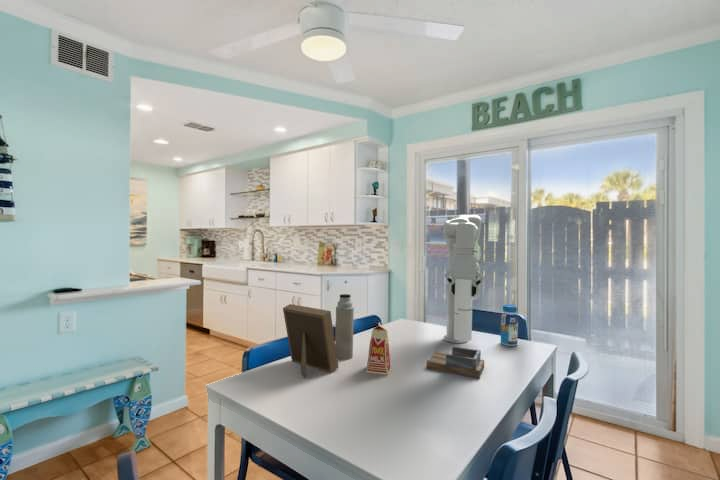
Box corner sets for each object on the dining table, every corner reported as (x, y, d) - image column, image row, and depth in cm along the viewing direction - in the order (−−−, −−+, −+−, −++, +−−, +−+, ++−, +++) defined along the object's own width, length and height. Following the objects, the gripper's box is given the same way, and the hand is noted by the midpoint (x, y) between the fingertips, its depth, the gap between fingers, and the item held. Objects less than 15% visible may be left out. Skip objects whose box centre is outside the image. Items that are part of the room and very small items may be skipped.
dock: (435, 358, 162) (435, 343, 162) (484, 367, 152) (484, 350, 152) (426, 368, 149) (427, 352, 149) (479, 378, 140) (479, 360, 140)
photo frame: (298, 358, 158) (299, 302, 157) (338, 369, 146) (339, 308, 145) (273, 369, 145) (273, 307, 145) (314, 382, 133) (315, 315, 133)
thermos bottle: (336, 353, 166) (337, 292, 166) (353, 354, 165) (354, 293, 165) (333, 359, 158) (334, 295, 158) (351, 360, 157) (352, 296, 157)
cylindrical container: (467, 342, 144) (469, 280, 144) (450, 338, 149) (452, 278, 148) (474, 338, 150) (475, 278, 150) (457, 335, 154) (459, 277, 154)
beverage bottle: (500, 340, 193) (501, 303, 192) (518, 343, 189) (519, 305, 189) (499, 344, 185) (500, 306, 185) (517, 347, 181) (518, 307, 181)
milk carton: (388, 375, 141) (389, 324, 141) (365, 373, 143) (366, 323, 143) (391, 367, 150) (392, 319, 150) (369, 365, 152) (370, 317, 152)
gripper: (487, 252, 149) (486, 295, 149) (445, 251, 156) (444, 292, 156) (485, 253, 142) (484, 298, 142) (441, 251, 149) (440, 294, 150)
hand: (463, 294), depth 149 cm, fingers closed on cylindrical container, 7 cm apart
